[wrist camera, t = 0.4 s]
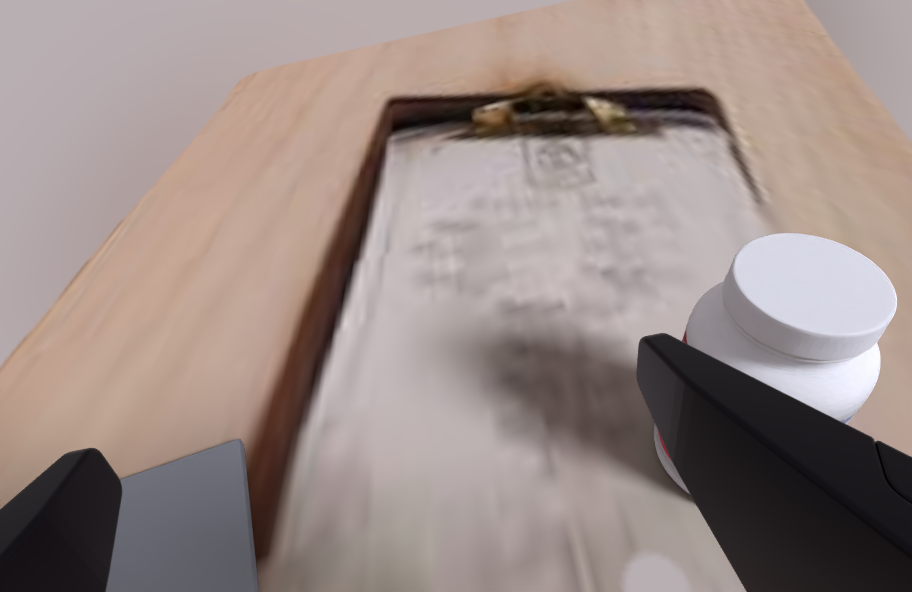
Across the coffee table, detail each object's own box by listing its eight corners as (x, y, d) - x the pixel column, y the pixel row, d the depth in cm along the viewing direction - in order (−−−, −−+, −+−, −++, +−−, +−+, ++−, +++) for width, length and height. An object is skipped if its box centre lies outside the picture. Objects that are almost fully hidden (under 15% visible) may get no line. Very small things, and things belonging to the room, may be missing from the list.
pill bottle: (784, 544, 23) (927, 389, 15) (634, 478, 25) (686, 314, 17) (805, 423, 26) (929, 245, 18) (671, 375, 29) (729, 200, 21)
